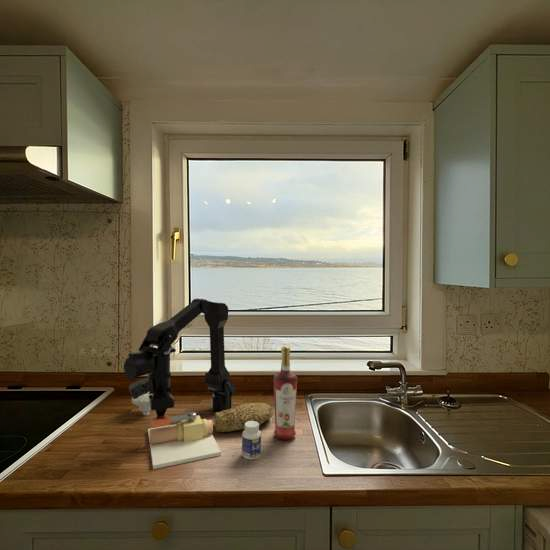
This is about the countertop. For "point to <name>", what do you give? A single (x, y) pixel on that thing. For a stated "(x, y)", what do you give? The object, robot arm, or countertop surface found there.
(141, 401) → the showerhead
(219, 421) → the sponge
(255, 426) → the pill bottle
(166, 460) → the valve board
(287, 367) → the liquor
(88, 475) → the countertop surface
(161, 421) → the valve lever
